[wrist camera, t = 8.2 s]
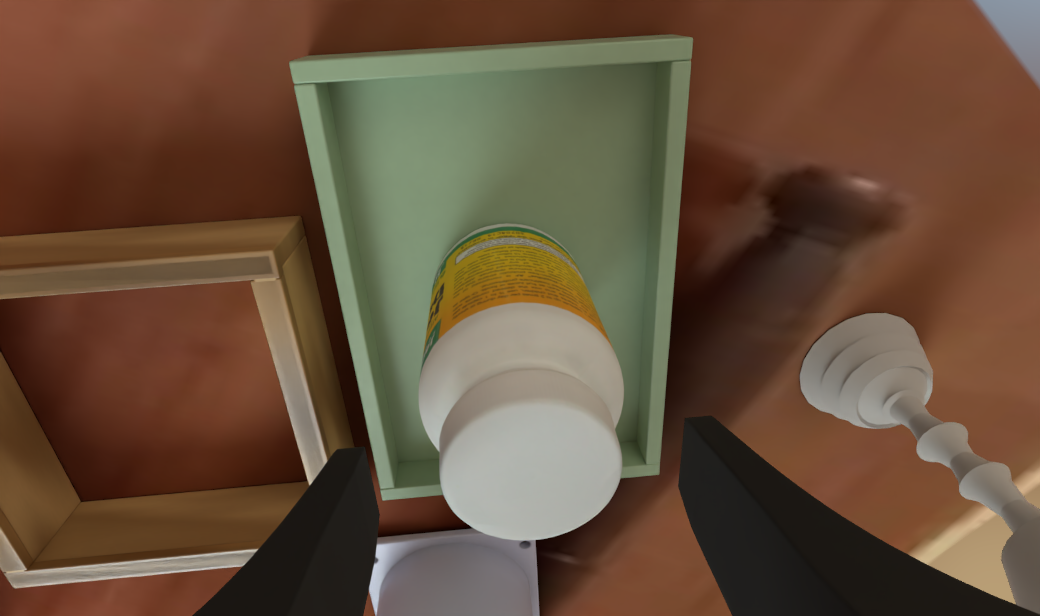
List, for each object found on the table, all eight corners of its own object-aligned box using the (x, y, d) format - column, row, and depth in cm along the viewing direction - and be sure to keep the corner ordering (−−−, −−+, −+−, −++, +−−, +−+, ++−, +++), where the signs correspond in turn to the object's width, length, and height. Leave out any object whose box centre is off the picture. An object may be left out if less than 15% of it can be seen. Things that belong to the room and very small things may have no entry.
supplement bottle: (585, 342, 22) (656, 547, 14) (446, 362, 22) (433, 580, 14) (574, 207, 20) (653, 356, 11) (418, 229, 20) (380, 395, 11)
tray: (646, 442, 26) (659, 475, 24) (388, 466, 25) (382, 501, 23) (672, 34, 18) (694, 37, 16) (306, 55, 18) (287, 61, 16)
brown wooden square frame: (367, 489, 26) (352, 555, 22) (69, 516, 25) (13, 589, 22) (303, 211, 20) (273, 249, 17) (-86, 239, 19) (-192, 284, 16)
